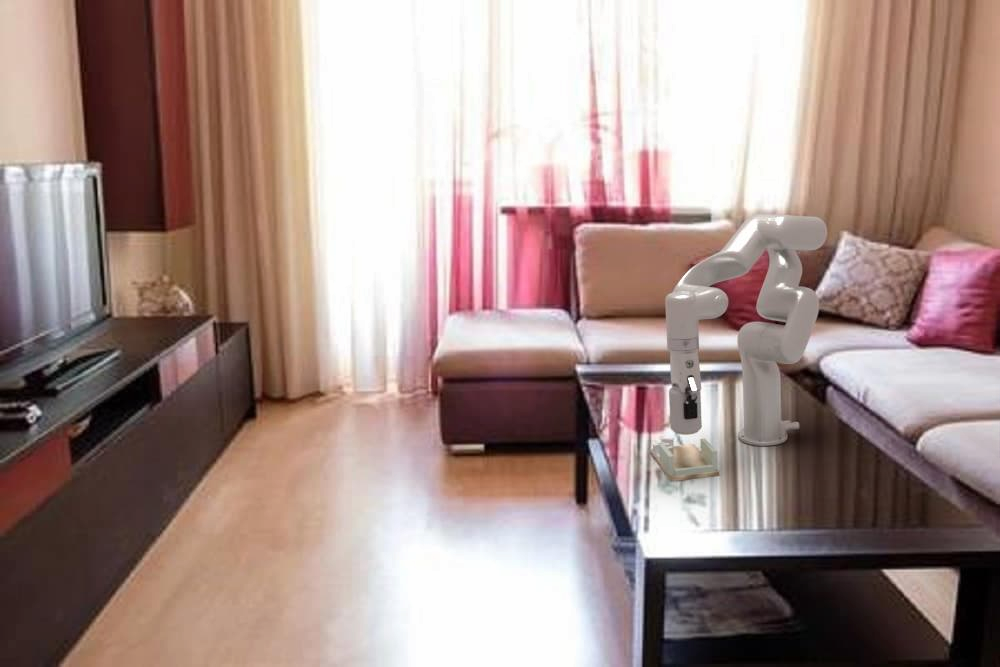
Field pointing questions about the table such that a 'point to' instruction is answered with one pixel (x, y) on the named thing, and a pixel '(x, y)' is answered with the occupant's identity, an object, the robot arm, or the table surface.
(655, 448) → the clip
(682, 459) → the board
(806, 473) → the table surface
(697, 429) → the can
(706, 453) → the bracket
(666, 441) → the clip
